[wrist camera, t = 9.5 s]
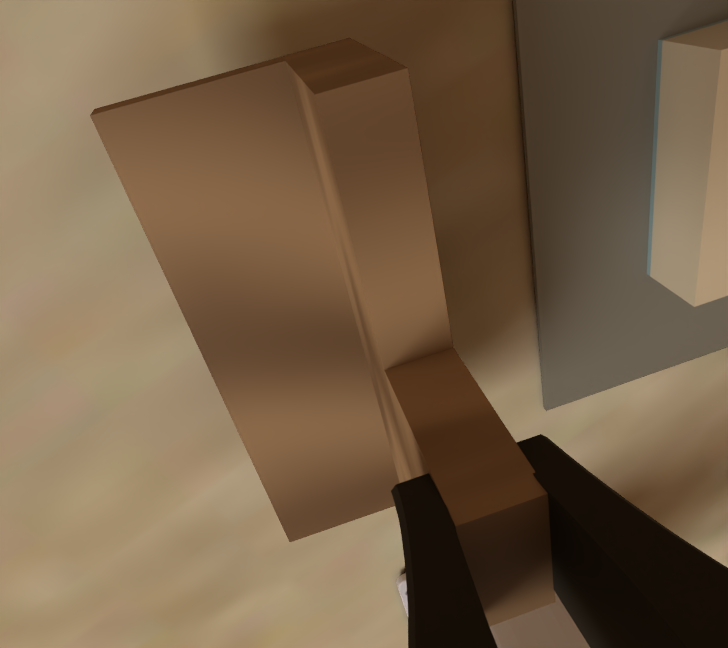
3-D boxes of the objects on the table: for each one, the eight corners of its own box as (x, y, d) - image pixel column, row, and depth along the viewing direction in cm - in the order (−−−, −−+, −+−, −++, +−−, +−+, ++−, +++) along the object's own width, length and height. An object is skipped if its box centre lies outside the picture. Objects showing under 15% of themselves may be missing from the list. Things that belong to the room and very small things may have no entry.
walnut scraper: (441, 474, 20) (563, 732, 14) (287, 527, 20) (334, 821, 13) (349, 37, 13) (528, 131, 6) (94, 108, 12) (-35, 299, 5)
